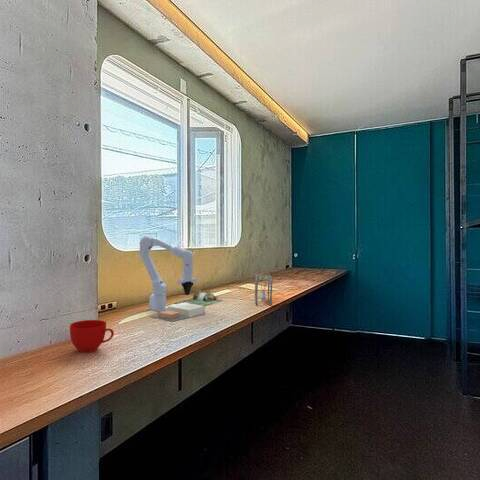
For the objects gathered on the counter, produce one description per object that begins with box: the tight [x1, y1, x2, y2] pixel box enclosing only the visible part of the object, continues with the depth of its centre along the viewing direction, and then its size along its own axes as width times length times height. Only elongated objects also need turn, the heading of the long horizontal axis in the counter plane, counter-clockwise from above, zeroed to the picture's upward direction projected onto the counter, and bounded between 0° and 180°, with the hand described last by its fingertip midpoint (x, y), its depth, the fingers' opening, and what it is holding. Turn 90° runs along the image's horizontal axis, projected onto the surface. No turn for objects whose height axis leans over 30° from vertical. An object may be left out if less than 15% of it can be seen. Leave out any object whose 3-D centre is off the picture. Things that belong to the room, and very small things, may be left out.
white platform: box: [166, 303, 206, 318], centre depth 210 cm, size 16×14×4 cm
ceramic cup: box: [69, 319, 115, 354], centre depth 141 cm, size 13×17×10 cm
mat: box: [150, 314, 189, 323], centre depth 198 cm, size 16×12×1 cm
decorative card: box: [173, 288, 224, 307], centre depth 246 cm, size 33×8×20 cm
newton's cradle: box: [254, 273, 273, 306], centre depth 252 cm, size 30×10×18 cm, turn 179°
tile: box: [157, 310, 180, 319], centre depth 198 cm, size 9×7×2 cm
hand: (187, 294), depth 216 cm, fingers closed
